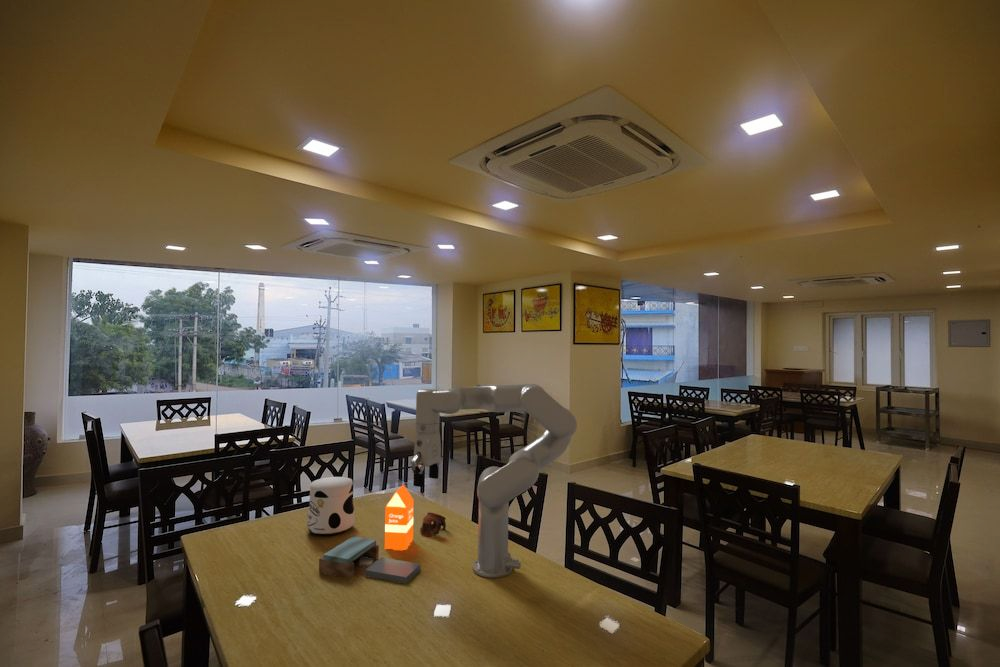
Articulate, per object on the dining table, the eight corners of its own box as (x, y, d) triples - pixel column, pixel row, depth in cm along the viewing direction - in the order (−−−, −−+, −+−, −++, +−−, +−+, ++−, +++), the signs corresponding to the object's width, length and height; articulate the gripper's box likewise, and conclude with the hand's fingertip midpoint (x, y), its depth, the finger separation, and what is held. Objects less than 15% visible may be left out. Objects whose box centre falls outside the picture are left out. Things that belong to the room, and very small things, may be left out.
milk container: (295, 535, 174) (297, 486, 174) (326, 519, 191) (327, 474, 191) (336, 542, 169) (337, 491, 169) (363, 524, 185) (364, 478, 186)
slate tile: (420, 571, 148) (420, 563, 148) (406, 585, 140) (406, 577, 140) (381, 564, 153) (381, 557, 153) (365, 577, 144) (365, 569, 144)
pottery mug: (414, 532, 179) (421, 510, 183) (435, 540, 183) (442, 518, 187) (426, 534, 170) (434, 511, 174) (449, 542, 173) (456, 519, 177)
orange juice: (413, 540, 171) (414, 484, 172) (406, 550, 162) (407, 491, 163) (392, 539, 172) (393, 483, 172) (384, 549, 163) (385, 490, 164)
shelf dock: (378, 557, 157) (378, 540, 157) (350, 578, 142) (351, 559, 142) (348, 552, 160) (349, 535, 160) (318, 572, 146) (319, 553, 146)
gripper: (424, 433, 142) (422, 491, 142) (450, 425, 158) (449, 476, 158) (402, 431, 145) (401, 488, 144) (430, 423, 161) (429, 474, 161)
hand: (426, 482), depth 151 cm, fingers open, 9 cm apart
